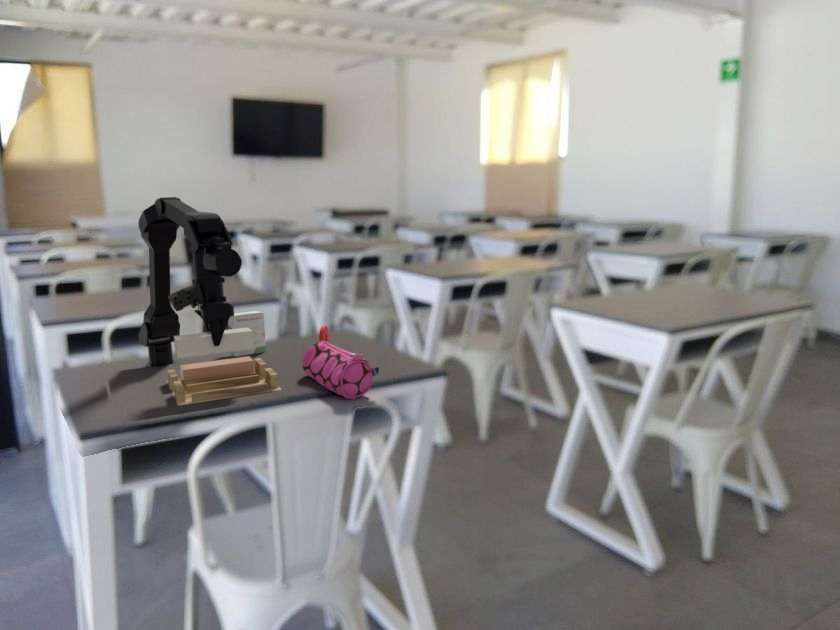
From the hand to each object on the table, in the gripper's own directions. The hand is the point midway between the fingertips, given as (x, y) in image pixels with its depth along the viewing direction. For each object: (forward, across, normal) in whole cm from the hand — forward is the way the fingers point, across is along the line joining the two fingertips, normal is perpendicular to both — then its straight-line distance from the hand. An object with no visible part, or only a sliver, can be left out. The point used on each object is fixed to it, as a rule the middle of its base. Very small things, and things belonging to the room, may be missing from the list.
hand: (214, 343), depth 154 cm
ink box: (+11, -31, +13) cm, 35 cm away
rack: (+12, -4, +2) cm, 12 cm away
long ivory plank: (+2, 0, 0) cm, 2 cm away
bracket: (+12, -21, +29) cm, 37 cm away
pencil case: (+12, +8, +25) cm, 29 cm away
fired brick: (+10, -9, +2) cm, 14 cm away
